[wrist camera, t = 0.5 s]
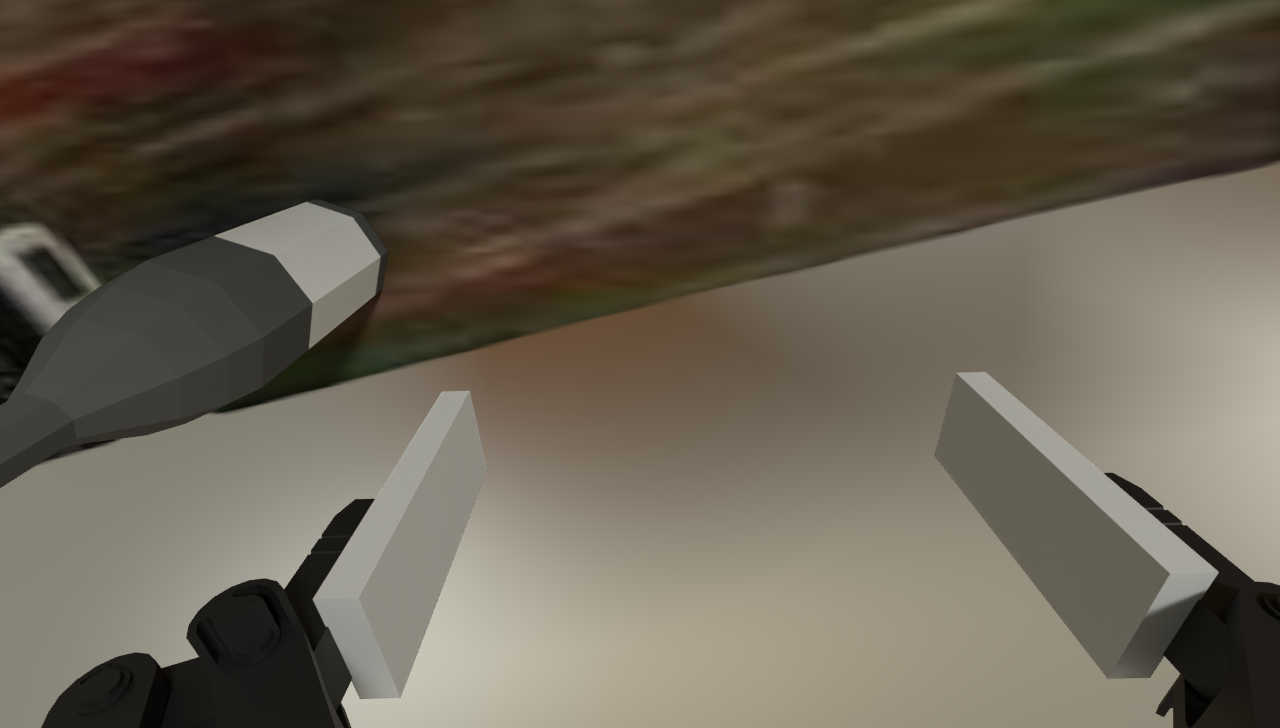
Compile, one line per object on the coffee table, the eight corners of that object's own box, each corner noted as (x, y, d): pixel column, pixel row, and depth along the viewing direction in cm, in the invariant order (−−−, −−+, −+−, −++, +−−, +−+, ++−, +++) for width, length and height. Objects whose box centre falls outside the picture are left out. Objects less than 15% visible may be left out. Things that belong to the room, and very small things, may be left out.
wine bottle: (403, 301, 42) (1, 679, 16) (300, 306, 42) (-271, 688, 16) (374, 194, 38) (-217, 452, 12) (262, 200, 39) (-570, 466, 12)
